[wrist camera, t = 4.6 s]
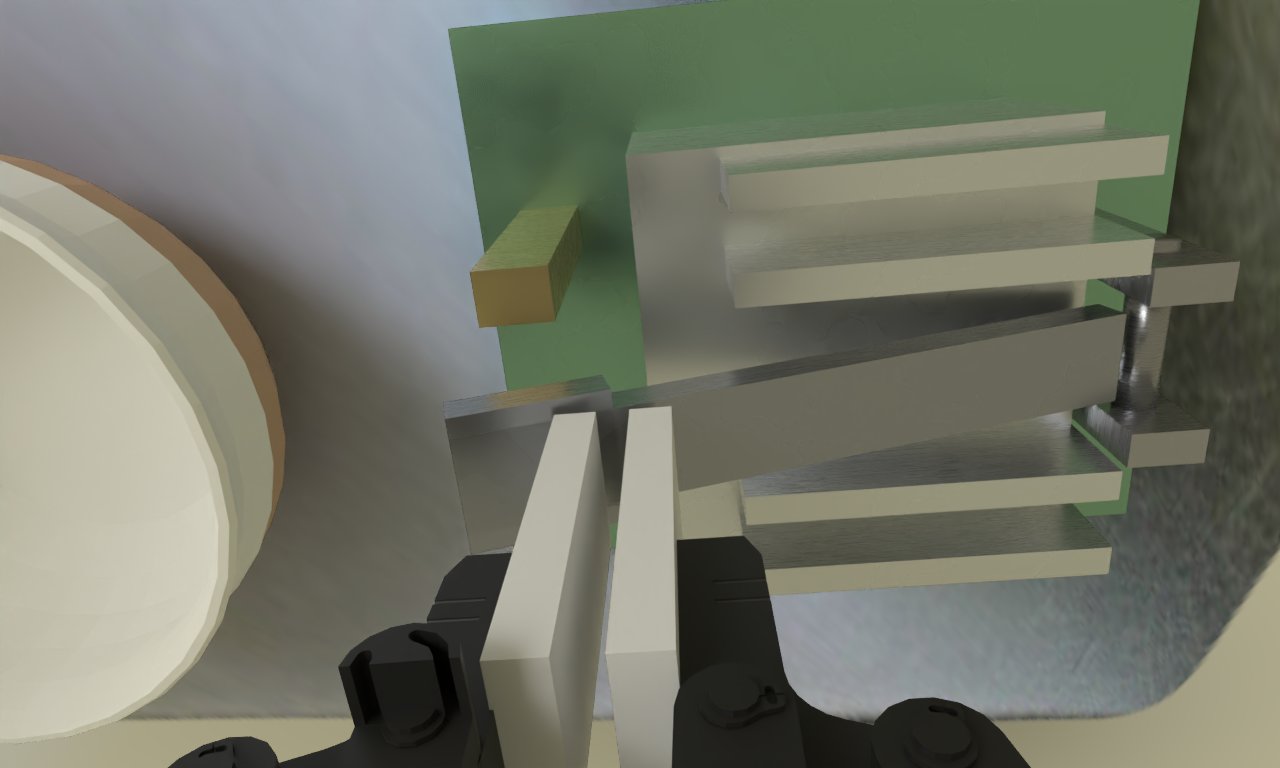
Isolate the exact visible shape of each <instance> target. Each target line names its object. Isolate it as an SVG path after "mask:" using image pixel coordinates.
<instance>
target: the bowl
mask: <svg viewBox="0 0 1280 768" xmlns="http://www.w3.org/2000/svg"><path fill="white" fill-rule="evenodd" d="M285 442H286V440H285V434H284V428H283V422H282V416H281V410H280V404H279V398H278V392H277V387H276V381H275V378H274V375H273V372H272V370H271V367H270V365H269V362H268V359H267V357H266V354H265V351H264V349H263V346H262V343H261V341H260V338H259V336H258V335H257V333H256V331H255V330H254V328H253V326H252V325H251V323H250V321H249V320H248V318H247V316H246V315H245V313H244V311H243V310H242V308H241V306H240V305H239V303H238V301H237V300H236V298H235V297H234V295H233V294H232V293H231V292H230V291H229V290H228V288H227V287H226V286H225V285H224V284H223V283H222V281H221V280H220V279H219V278H218V277H217V276H216V274H215V273H214V272H213V271H212V270H211V269H210V267H209V266H208V265H207V264H206V263H205V262H204V261H203V259H202V258H201V257H199V256H198V255H197V254H196V253H195V252H193V251H192V250H191V249H190V248H189V247H188V246H186V245H185V244H184V243H183V242H182V241H180V240H179V239H178V238H177V237H176V236H174V235H173V234H172V233H171V232H170V231H169V230H167V229H166V228H165V227H164V226H163V225H161V224H160V223H158V222H156V221H155V220H153V219H151V218H150V217H148V216H146V215H145V214H143V213H141V212H140V211H138V210H136V209H135V208H133V207H131V206H130V205H128V204H126V203H125V202H123V201H121V200H120V199H118V198H116V197H115V196H113V195H111V194H110V193H108V192H106V191H105V190H103V189H101V188H99V187H98V186H96V185H94V184H92V183H89V182H87V181H84V180H82V179H79V178H77V177H74V176H72V175H69V174H67V173H64V172H62V171H59V170H57V169H54V168H52V167H49V166H47V165H44V164H42V163H39V162H36V161H31V160H26V159H22V158H17V157H12V156H7V155H2V154H0V744H22V743H29V742H36V741H43V740H50V739H57V738H65V737H71V736H74V735H77V734H80V733H83V732H86V731H89V730H92V729H95V728H98V727H101V726H104V725H107V724H110V723H113V722H116V721H118V720H121V719H123V718H125V717H126V716H128V715H130V714H132V713H133V712H135V711H137V710H138V709H140V708H142V707H143V706H145V705H147V704H148V703H150V702H152V701H154V700H155V699H157V698H159V697H160V696H162V695H164V694H165V693H166V692H167V691H168V690H169V689H170V688H172V687H173V686H174V685H175V684H176V683H177V682H178V681H179V680H180V679H181V678H182V677H183V676H184V675H185V674H186V673H187V672H188V671H189V670H190V669H191V668H192V667H193V666H194V665H195V664H196V663H197V662H198V661H199V660H200V658H201V656H202V655H203V653H204V651H205V650H206V648H207V646H208V645H209V643H210V641H211V640H212V638H213V636H214V635H215V633H216V631H217V630H218V628H219V626H220V625H221V623H222V621H223V618H224V614H225V611H226V607H227V604H228V600H229V597H230V595H231V594H232V593H233V592H234V591H235V590H236V589H237V588H238V586H239V584H240V583H241V581H242V579H243V578H244V576H245V574H246V573H247V571H248V569H249V568H250V566H251V564H252V563H253V561H254V559H255V558H256V556H257V554H258V553H259V551H260V547H261V544H262V541H263V539H264V537H265V535H266V533H267V531H268V529H269V527H270V525H271V523H272V520H273V516H274V513H275V510H276V506H277V503H278V500H279V496H280V493H281V490H282V486H283V481H284V461H285Z"/></svg>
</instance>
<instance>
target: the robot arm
mask: <svg viewBox="0 0 1280 768" xmlns="http://www.w3.org/2000/svg"><path fill="white" fill-rule="evenodd" d="M610 551H611V533H610V525H609V517H608V509H607V500H606V492H605V484H604V476H603V468H602V460H601V451H600V443H599V435H598V427H597V419H596V412H586V413H572V414H559V415H554V417H553V420H552V423H551V427H550V430H549V433H548V437H547V440H546V443H545V447H544V450H543V453H542V456H541V460H540V463H539V466H538V470H537V473H536V476H535V480H534V483H533V486H532V490H531V493H530V496H529V499H528V503H527V506H526V509H525V513H524V516H523V519H522V523H521V526H520V529H519V533H518V536H517V539H516V542H515V546H514V549H513V552H512V553H503V554H487V555H472V556H466V557H465V558H464V559H463V560H462V561H461V562H459V563H458V564H457V565H456V566H455V567H454V568H453V569H452V570H451V571H450V572H449V573H448V574H447V575H446V576H445V577H444V579H443V582H442V584H441V586H440V589H439V591H438V594H437V596H436V598H435V605H433V606H432V608H431V610H430V613H429V615H428V618H427V624H425V623H412V624H406V625H401V626H396V627H391V628H389V629H387V630H384V631H382V632H380V633H377V634H375V635H373V636H370V637H368V638H367V639H366V640H364V641H363V642H362V643H360V644H359V645H358V646H356V647H355V648H354V649H352V650H351V651H350V652H349V653H348V655H347V656H346V657H345V659H344V660H343V661H342V663H341V664H340V665H339V667H338V668H339V672H340V675H341V679H342V682H343V686H344V690H345V693H346V697H347V700H348V704H349V707H350V711H351V715H352V718H353V722H354V725H355V728H354V730H353V733H352V735H351V738H350V739H349V740H347V741H345V742H343V743H340V744H338V745H335V746H332V747H330V748H327V749H324V750H321V751H318V752H314V753H311V754H307V755H304V756H301V757H298V758H294V759H291V760H288V761H284V762H281V763H279V762H278V759H277V756H276V754H275V753H274V751H273V750H272V748H271V747H270V746H269V744H268V743H267V742H265V741H262V740H259V739H256V738H253V737H230V738H229V737H228V738H225V739H222V740H219V741H215V742H212V743H209V744H206V745H203V746H201V747H199V748H197V749H196V750H194V751H192V752H190V753H188V754H186V755H185V756H183V757H181V758H179V759H178V760H177V761H175V762H174V763H173V764H172V765H171V766H170V767H168V768H587V764H588V754H589V745H590V736H591V727H592V718H593V708H594V699H595V690H596V681H597V671H598V662H599V653H600V643H601V634H602V625H603V616H604V606H605V597H606V588H607V578H608V569H609V560H610ZM605 655H606V663H607V670H608V678H609V685H610V693H611V700H612V708H613V715H614V723H615V730H616V738H617V745H618V753H619V760H620V767H621V768H1031V767H1030V766H1029V765H1028V764H1027V762H1026V761H1025V760H1024V759H1023V757H1022V756H1021V755H1020V754H1019V752H1018V751H1017V750H1016V748H1015V747H1014V746H1013V745H1012V744H1011V742H1010V741H1009V740H1008V738H1007V737H1006V736H1005V734H1004V733H1003V732H1002V731H1001V730H1000V729H999V728H998V727H997V726H996V725H994V724H993V723H992V722H991V721H990V720H989V719H988V718H987V717H986V716H985V715H983V714H981V713H979V712H977V711H975V710H973V709H971V708H969V707H967V706H965V705H963V704H961V703H958V702H953V701H948V700H943V699H939V698H934V697H932V698H915V699H907V700H905V701H902V702H900V703H897V704H895V705H892V706H890V707H888V708H887V709H886V710H885V711H884V712H883V713H882V714H881V715H880V716H879V718H878V719H877V720H876V721H875V724H874V725H870V724H865V723H860V722H855V721H850V720H845V719H842V718H839V717H835V716H832V715H828V714H826V713H824V712H822V711H820V710H818V709H816V708H814V707H812V706H810V705H809V704H808V703H807V702H805V701H804V700H803V699H802V698H800V697H799V696H798V695H797V694H796V692H795V691H794V690H793V689H792V687H791V686H790V685H789V683H788V680H787V678H786V675H785V672H784V668H783V662H782V657H781V652H780V647H779V642H778V636H777V631H776V626H775V621H774V616H773V610H772V605H771V601H770V595H769V590H768V584H767V582H766V574H765V569H764V564H763V558H762V554H761V553H760V552H759V551H758V550H757V549H756V548H755V547H754V546H753V545H752V544H751V543H750V542H749V541H748V539H747V538H746V537H745V536H729V537H714V538H698V539H683V536H682V524H681V513H680V501H679V489H678V478H677V466H676V454H675V443H674V431H673V419H672V407H671V406H667V407H653V408H640V409H629V418H628V428H627V439H626V449H625V459H624V469H623V479H622V489H621V500H620V510H619V520H618V530H617V540H616V550H615V561H614V571H613V581H612V591H611V601H610V611H609V622H608V632H607V642H606V652H605Z"/></svg>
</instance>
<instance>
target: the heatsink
mask: <svg viewBox="0 0 1280 768" xmlns="http://www.w3.org/2000/svg"><path fill="white" fill-rule="evenodd" d="M1199 3H1200V0H725V1H715V2H705V3H695V4H685V5H676V6H666V7H656V8H646V9H637V10H627V11H617V12H607V13H597V14H588V15H578V16H568V17H558V18H549V19H539V20H529V21H519V22H509V23H500V24H490V25H480V26H470V27H461V28H451V29H448V32H449V38H450V44H451V50H452V56H453V62H454V68H455V74H456V81H457V87H458V93H459V99H460V105H461V111H462V117H463V123H464V129H465V135H466V141H467V147H468V154H469V160H470V166H471V172H472V178H473V184H474V190H475V196H476V202H477V208H478V214H479V220H480V226H481V233H482V239H483V245H484V251H485V254H484V255H483V257H482V258H481V259H480V260H479V261H478V263H477V264H476V265H475V266H474V267H473V269H472V270H471V271H470V277H471V282H472V288H473V294H474V300H475V305H476V311H477V317H478V323H479V328H483V327H496V326H497V330H498V336H499V342H500V348H501V354H502V360H503V366H504V372H505V378H506V385H507V391H512V390H518V389H523V388H529V387H535V386H540V385H546V384H551V383H557V382H563V381H568V380H574V379H580V378H585V377H591V376H597V375H603V377H604V379H605V380H606V382H607V383H608V385H609V387H610V388H611V392H617V391H622V390H628V389H633V388H639V387H644V386H650V385H655V384H661V383H666V382H672V381H677V380H683V379H688V378H694V377H699V376H705V375H710V374H716V373H721V372H727V371H732V370H738V369H743V368H749V367H754V366H760V365H765V364H771V363H776V362H782V361H787V360H793V359H798V358H804V357H809V356H815V355H820V354H826V353H831V352H837V351H842V350H848V349H853V348H859V347H864V346H870V345H875V344H881V343H886V342H892V341H897V340H903V339H908V338H914V337H919V336H925V335H930V334H935V333H941V332H946V331H952V330H957V329H963V328H968V327H974V326H979V325H985V324H990V323H996V322H1001V321H1007V320H1012V319H1018V318H1023V317H1029V316H1034V315H1040V314H1045V313H1051V312H1056V311H1062V310H1067V309H1073V308H1078V307H1084V306H1089V305H1095V304H1100V305H1103V306H1106V307H1109V308H1112V309H1115V310H1118V311H1121V312H1123V313H1126V322H1125V330H1124V337H1123V345H1122V352H1121V360H1120V368H1119V375H1118V383H1117V391H1116V398H1115V401H1112V402H1107V403H1102V404H1097V405H1093V406H1088V407H1083V408H1078V409H1073V410H1069V411H1064V412H1059V413H1054V414H1050V415H1045V416H1040V417H1035V418H1030V419H1026V420H1021V421H1016V422H1011V423H1007V424H1002V425H997V426H992V427H987V428H983V429H978V430H973V431H968V432H963V433H959V434H954V435H949V436H944V437H940V438H935V439H930V440H925V441H920V442H916V443H911V444H906V445H901V446H897V447H892V448H887V449H882V450H877V451H873V452H868V453H863V454H858V455H853V456H849V457H844V458H839V459H834V460H830V461H825V462H820V463H815V464H810V465H806V466H801V467H796V468H791V469H787V470H782V471H777V472H772V473H767V474H763V475H758V476H753V477H748V478H744V479H739V480H734V481H729V482H724V483H720V484H715V485H710V486H705V487H700V488H696V489H691V490H686V491H681V492H679V501H680V513H681V524H682V536H683V539H698V538H714V537H729V536H745V537H746V538H747V539H748V541H749V542H750V543H751V544H752V545H753V546H754V547H755V548H756V549H757V550H758V551H759V552H760V553H761V554H762V558H763V564H764V569H765V574H766V582H767V584H768V590H769V595H783V594H799V593H815V592H831V591H846V590H862V589H878V588H894V587H909V586H925V585H941V584H957V583H972V582H988V581H1004V580H1020V579H1035V578H1051V577H1067V576H1083V575H1098V574H1108V573H1109V566H1110V559H1111V552H1112V547H1111V546H1110V544H1109V543H1108V542H1107V541H1106V540H1105V539H1104V538H1103V537H1102V536H1101V534H1100V533H1099V532H1098V531H1097V530H1096V529H1095V528H1094V527H1093V526H1092V524H1091V523H1090V522H1089V521H1088V520H1087V519H1086V518H1085V517H1084V516H1099V515H1114V514H1126V509H1127V502H1128V495H1129V488H1130V481H1131V474H1132V468H1137V467H1152V466H1166V465H1180V464H1194V463H1204V461H1205V455H1206V450H1207V444H1208V439H1209V433H1210V428H1208V427H1207V426H1205V425H1204V424H1202V423H1201V422H1199V421H1198V420H1197V419H1195V418H1194V417H1192V416H1191V415H1189V414H1188V413H1187V412H1185V411H1184V410H1182V409H1181V408H1179V407H1178V406H1177V405H1175V404H1174V403H1172V402H1171V401H1169V400H1168V399H1167V398H1165V397H1164V396H1162V395H1161V394H1159V387H1160V381H1161V374H1162V368H1163V361H1164V354H1165V348H1166V341H1167V335H1168V328H1169V321H1170V315H1171V308H1172V306H1177V305H1190V304H1202V303H1215V302H1227V301H1233V299H1234V294H1235V288H1236V283H1237V277H1238V272H1239V266H1240V261H1238V260H1235V259H1233V258H1230V257H1227V256H1225V255H1222V254H1219V253H1217V252H1214V251H1211V250H1208V249H1206V248H1203V247H1200V246H1198V245H1195V244H1192V243H1190V242H1187V241H1184V240H1182V238H1181V237H1179V236H1176V235H1171V234H1166V232H1167V225H1168V218H1169V211H1170V204H1171V197H1172V190H1173V183H1174V176H1175V169H1176V162H1177V155H1178V148H1179V141H1180V134H1181V127H1182V120H1183V114H1184V107H1185V100H1186V93H1187V86H1188V79H1189V72H1190V65H1191V58H1192V51H1193V44H1194V37H1195V30H1196V23H1197V16H1198V9H1199ZM617 530H618V523H616V524H611V525H610V533H611V548H616V540H617Z"/></svg>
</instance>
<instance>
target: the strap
mask: <svg viewBox="0 0 1280 768" xmlns="http://www.w3.org/2000/svg"><path fill="white" fill-rule="evenodd" d="M1125 322H1126V313H1123V312H1121V311H1118V310H1115V309H1112V308H1109V307H1106V306H1103V305H1100V304H1095V305H1089V306H1084V307H1078V308H1073V309H1067V310H1062V311H1056V312H1051V313H1045V314H1040V315H1034V316H1029V317H1023V318H1018V319H1012V320H1007V321H1001V322H996V323H990V324H985V325H979V326H974V327H968V328H963V329H957V330H952V331H946V332H941V333H935V334H930V335H925V336H919V337H914V338H908V339H903V340H897V341H892V342H886V343H881V344H875V345H870V346H864V347H859V348H853V349H848V350H842V351H837V352H831V353H826V354H820V355H815V356H809V357H804V358H798V359H793V360H787V361H782V362H776V363H771V364H765V365H760V366H754V367H749V368H743V369H738V370H732V371H727V372H721V373H716V374H710V375H705V376H699V377H694V378H688V379H683V380H677V381H672V382H666V383H661V384H655V385H650V386H644V387H639V388H633V389H628V390H622V391H617V392H611V388H610V387H609V385H608V383H607V382H606V380H605V379H604V377H603V375H597V376H591V377H585V378H580V379H574V380H568V381H563V382H557V383H551V384H546V385H540V386H535V387H529V388H523V389H518V390H512V391H506V392H501V393H495V394H489V395H484V396H478V397H473V398H467V399H461V400H456V401H450V402H444V403H443V404H444V415H445V423H446V428H447V433H448V438H449V443H450V448H451V453H452V458H453V463H454V468H455V473H456V478H457V483H458V488H459V493H460V499H461V504H462V509H463V514H464V519H465V524H466V529H467V534H468V539H469V544H470V549H471V554H475V553H480V552H485V551H489V550H494V549H499V548H503V547H508V546H513V545H515V542H516V539H517V536H518V533H519V529H520V526H521V523H522V519H523V516H524V513H525V509H526V506H527V503H528V499H529V496H530V493H531V490H532V486H533V483H534V480H535V476H536V473H537V470H538V466H539V463H540V460H541V456H542V453H543V450H544V447H545V443H546V440H547V437H548V433H549V430H550V427H551V423H552V420H553V417H554V415H559V414H572V413H586V412H596V419H597V427H598V435H599V443H600V451H601V460H602V468H603V476H604V484H605V492H606V500H607V509H608V517H609V525H611V524H616V523H618V520H619V510H620V500H621V489H622V479H623V469H624V459H625V449H626V439H627V428H628V418H629V409H640V408H653V407H667V406H671V407H672V419H673V431H674V443H675V454H676V466H677V478H678V489H679V492H681V491H686V490H691V489H696V488H700V487H705V486H710V485H715V484H720V483H724V482H729V481H734V480H739V479H744V478H748V477H753V476H758V475H763V474H767V473H772V472H777V471H782V470H787V469H791V468H796V467H801V466H806V465H810V464H815V463H820V462H825V461H830V460H834V459H839V458H844V457H849V456H853V455H858V454H863V453H868V452H873V451H877V450H882V449H887V448H892V447H897V446H901V445H906V444H911V443H916V442H920V441H925V440H930V439H935V438H940V437H944V436H949V435H954V434H959V433H963V432H968V431H973V430H978V429H983V428H987V427H992V426H997V425H1002V424H1007V423H1011V422H1016V421H1021V420H1026V419H1030V418H1035V417H1040V416H1045V415H1050V414H1054V413H1059V412H1064V411H1069V410H1073V409H1078V408H1083V407H1088V406H1093V405H1097V404H1102V403H1107V402H1112V401H1115V398H1116V391H1117V383H1118V375H1119V368H1120V360H1121V352H1122V345H1123V337H1124V330H1125Z"/></svg>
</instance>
